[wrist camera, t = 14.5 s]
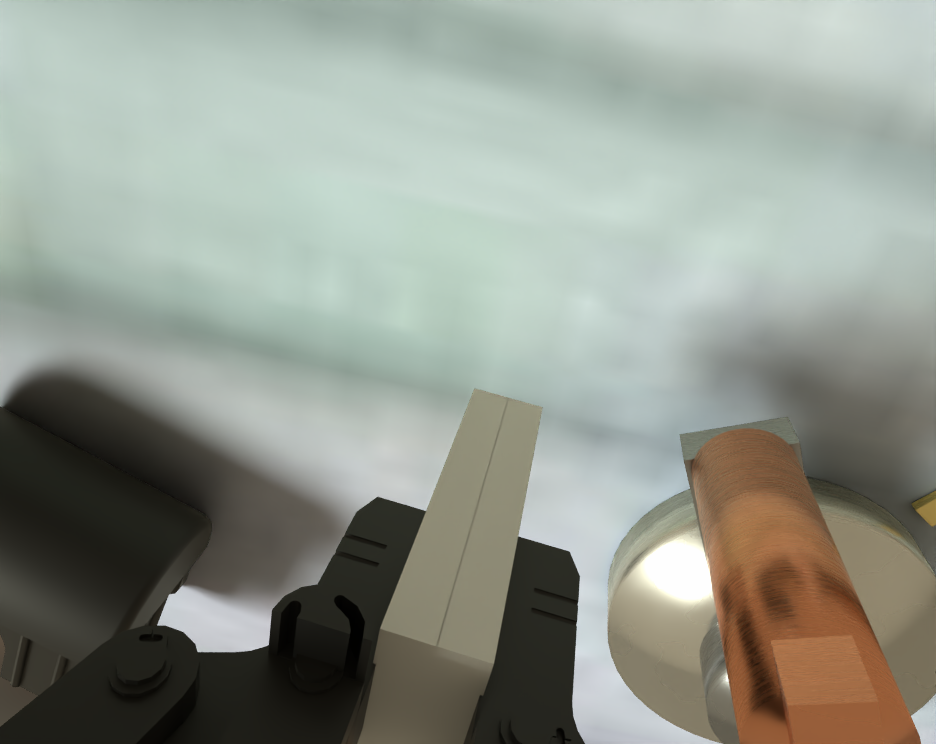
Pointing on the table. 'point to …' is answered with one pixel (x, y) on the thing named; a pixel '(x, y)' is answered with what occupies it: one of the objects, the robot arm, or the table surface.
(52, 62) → the table surface
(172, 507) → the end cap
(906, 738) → the crank
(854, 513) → the crank housing
